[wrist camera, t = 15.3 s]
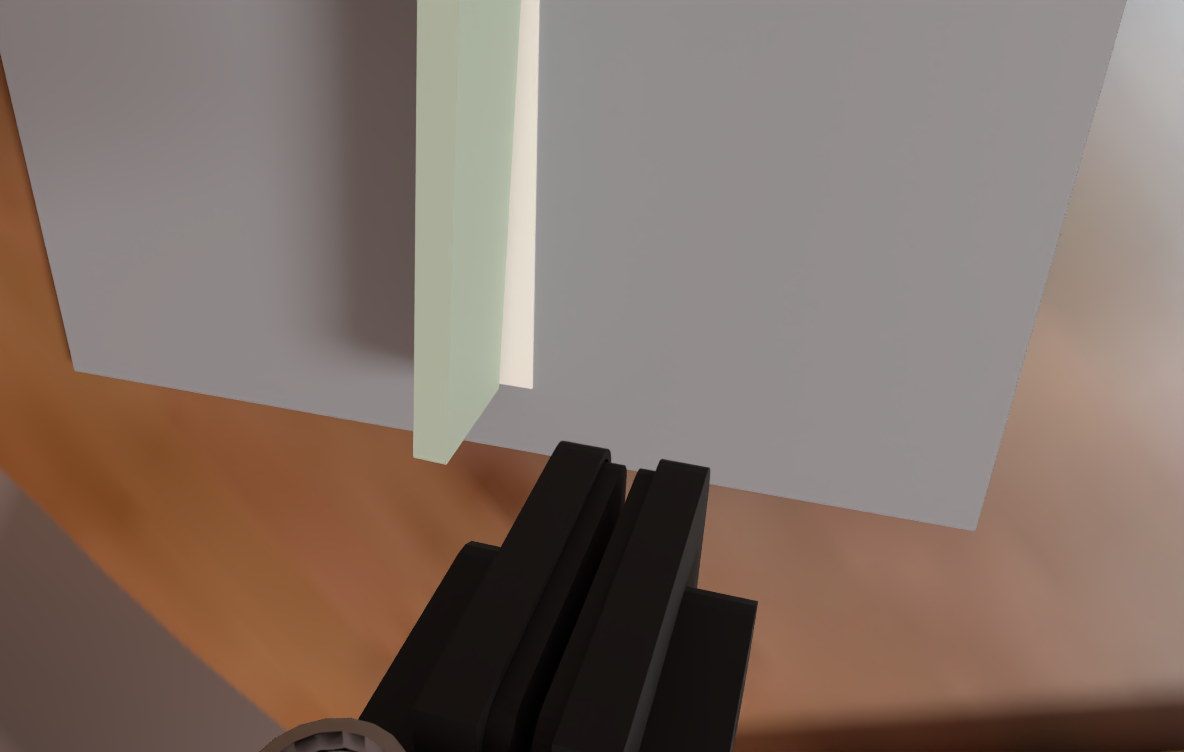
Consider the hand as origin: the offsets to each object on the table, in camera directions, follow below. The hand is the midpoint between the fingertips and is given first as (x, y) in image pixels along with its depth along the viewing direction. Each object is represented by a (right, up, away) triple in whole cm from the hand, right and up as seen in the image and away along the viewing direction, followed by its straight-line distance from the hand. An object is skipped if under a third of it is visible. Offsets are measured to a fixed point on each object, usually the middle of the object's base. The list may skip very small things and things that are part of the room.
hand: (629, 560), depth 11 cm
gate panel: (-3, +8, +18) cm, 20 cm away
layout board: (-3, +11, +17) cm, 21 cm away
